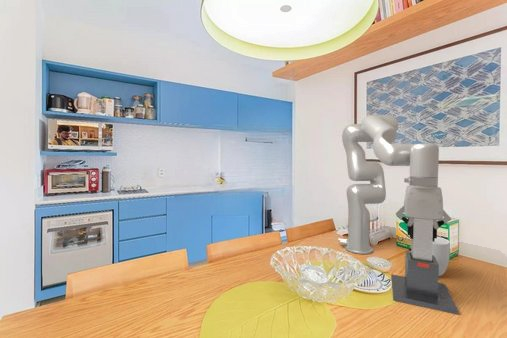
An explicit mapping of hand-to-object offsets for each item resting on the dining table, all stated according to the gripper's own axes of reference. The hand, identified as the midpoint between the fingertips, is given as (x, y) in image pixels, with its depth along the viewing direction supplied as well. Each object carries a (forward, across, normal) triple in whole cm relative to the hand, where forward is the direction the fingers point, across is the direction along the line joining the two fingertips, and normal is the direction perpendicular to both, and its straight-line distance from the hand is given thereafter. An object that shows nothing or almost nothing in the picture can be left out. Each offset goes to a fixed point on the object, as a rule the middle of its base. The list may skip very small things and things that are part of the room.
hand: (421, 238), depth 81 cm
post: (+13, 0, 0) cm, 13 cm away
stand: (+18, 0, 0) cm, 18 cm away
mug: (+19, +5, +19) cm, 27 cm away
